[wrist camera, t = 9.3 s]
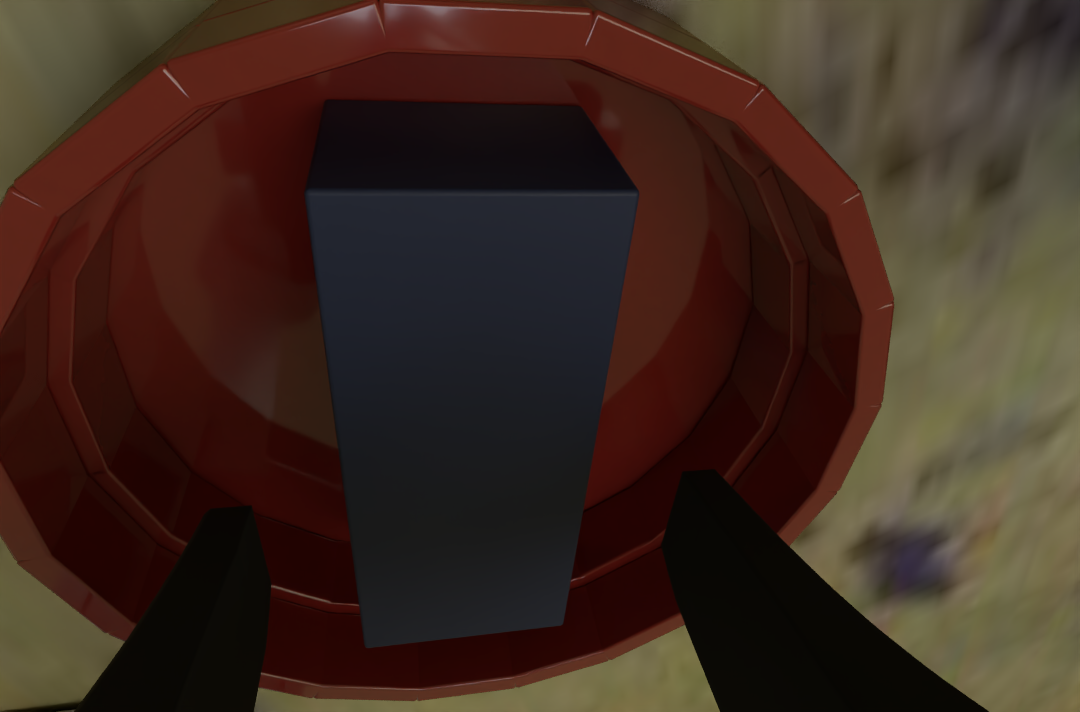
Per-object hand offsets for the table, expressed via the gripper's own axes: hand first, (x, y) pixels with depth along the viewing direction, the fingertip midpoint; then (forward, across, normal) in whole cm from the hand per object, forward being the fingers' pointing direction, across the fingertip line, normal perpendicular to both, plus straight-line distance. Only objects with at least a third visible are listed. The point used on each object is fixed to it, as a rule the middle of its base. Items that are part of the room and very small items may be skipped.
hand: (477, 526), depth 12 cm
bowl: (+6, 0, 0) cm, 6 cm away
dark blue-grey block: (+5, 0, 0) cm, 5 cm away
